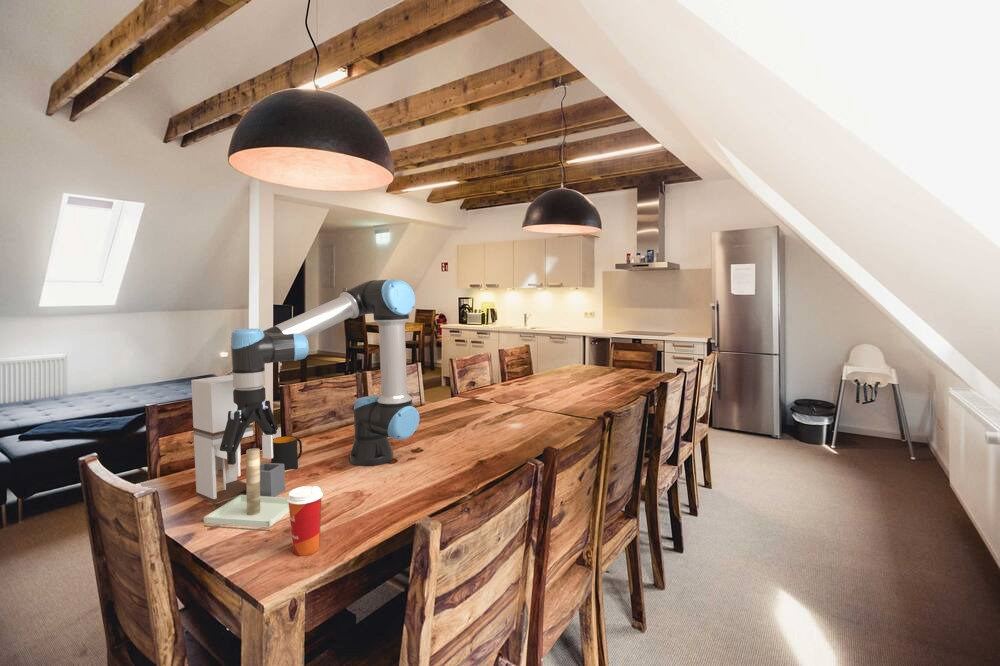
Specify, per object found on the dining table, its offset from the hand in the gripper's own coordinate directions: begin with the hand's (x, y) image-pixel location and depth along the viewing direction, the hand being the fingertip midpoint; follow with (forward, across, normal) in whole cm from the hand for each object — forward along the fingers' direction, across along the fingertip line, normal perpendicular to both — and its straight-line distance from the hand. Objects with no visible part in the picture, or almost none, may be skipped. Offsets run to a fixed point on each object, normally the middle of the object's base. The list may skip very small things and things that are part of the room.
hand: (252, 466), depth 126 cm
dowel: (+13, 0, 0) cm, 13 cm away
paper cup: (+14, +14, +23) cm, 30 cm away
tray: (+14, 0, 0) cm, 14 cm away
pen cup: (+14, -12, -4) cm, 19 cm away
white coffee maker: (+14, -11, -17) cm, 24 cm away
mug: (+14, -36, -12) cm, 40 cm away
